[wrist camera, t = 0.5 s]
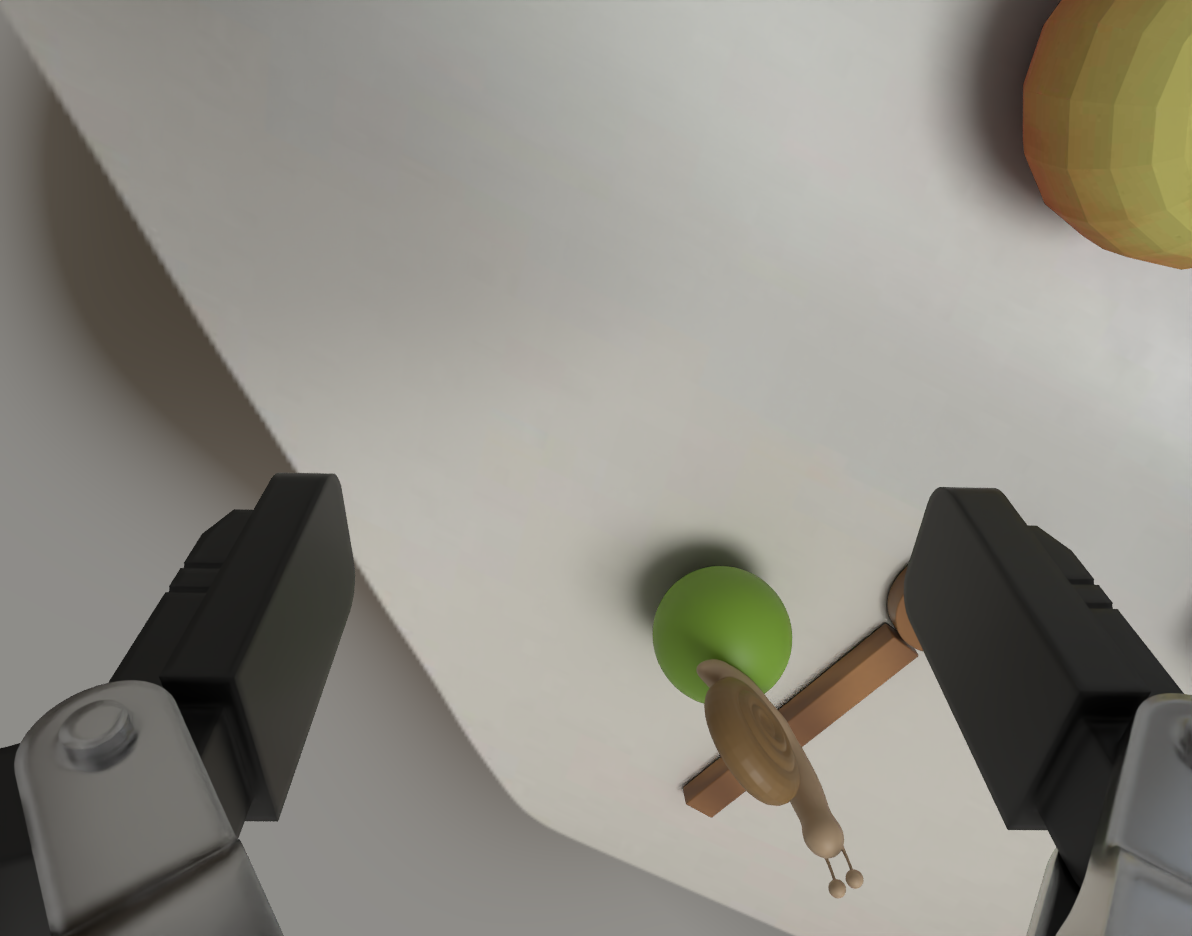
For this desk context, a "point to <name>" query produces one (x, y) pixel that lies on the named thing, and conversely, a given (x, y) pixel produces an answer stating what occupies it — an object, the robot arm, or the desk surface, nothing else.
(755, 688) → the snail figurine
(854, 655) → the spoon
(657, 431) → the desk surface
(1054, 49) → the apple
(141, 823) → the robot arm
